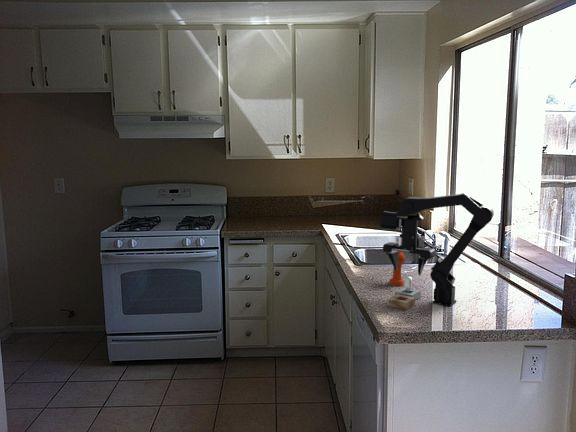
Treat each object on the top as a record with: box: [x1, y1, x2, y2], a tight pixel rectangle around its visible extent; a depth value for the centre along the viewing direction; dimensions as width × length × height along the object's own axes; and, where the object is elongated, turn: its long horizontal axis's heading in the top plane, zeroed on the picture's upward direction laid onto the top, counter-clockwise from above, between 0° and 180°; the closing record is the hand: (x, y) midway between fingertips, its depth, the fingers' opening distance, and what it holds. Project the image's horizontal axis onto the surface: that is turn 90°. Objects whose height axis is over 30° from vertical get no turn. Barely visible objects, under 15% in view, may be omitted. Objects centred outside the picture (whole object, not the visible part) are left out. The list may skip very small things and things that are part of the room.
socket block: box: [387, 294, 416, 311], centre depth 184 cm, size 7×7×2 cm
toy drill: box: [388, 251, 406, 287], centre depth 213 cm, size 5×19×15 cm, turn 12°
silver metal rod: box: [404, 275, 413, 293], centre depth 191 cm, size 2×2×8 cm
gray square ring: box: [394, 287, 422, 301], centre depth 192 cm, size 7×7×2 cm
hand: (407, 272), depth 190 cm, fingers open, 9 cm apart
